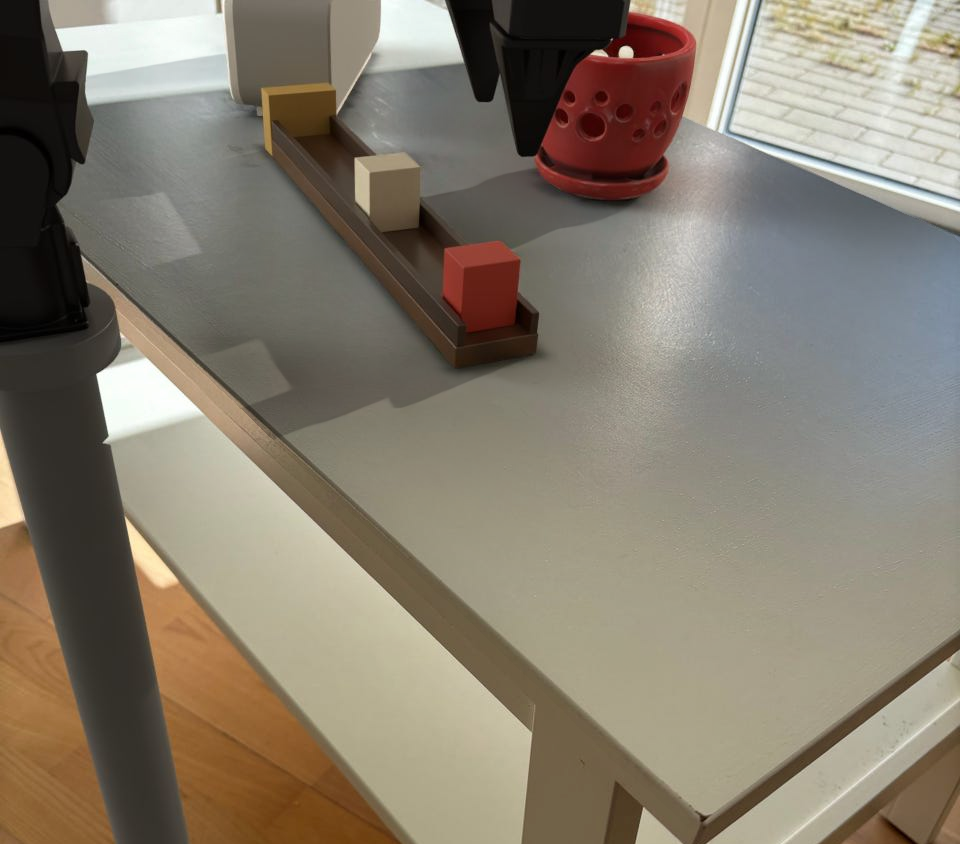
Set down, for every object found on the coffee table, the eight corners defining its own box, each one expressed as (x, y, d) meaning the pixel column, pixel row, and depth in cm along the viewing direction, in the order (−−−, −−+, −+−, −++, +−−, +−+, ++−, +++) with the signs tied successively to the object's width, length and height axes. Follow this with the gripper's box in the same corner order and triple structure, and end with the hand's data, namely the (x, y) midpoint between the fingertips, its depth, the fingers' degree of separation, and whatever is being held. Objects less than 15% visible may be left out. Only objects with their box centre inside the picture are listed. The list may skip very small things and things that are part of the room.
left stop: (272, 156, 94) (268, 95, 91) (265, 148, 95) (260, 87, 92) (337, 150, 96) (336, 89, 93) (330, 142, 98) (328, 82, 94)
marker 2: (460, 334, 70) (463, 267, 67) (441, 313, 72) (444, 247, 69) (515, 325, 72) (521, 259, 69) (495, 304, 74) (500, 239, 71)
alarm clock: (296, 39, 119) (291, -89, 111) (381, 48, 119) (381, -80, 111) (231, 123, 99) (218, -25, 91) (332, 134, 99) (328, -14, 91)
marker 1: (369, 234, 81) (369, 172, 77) (355, 218, 82) (354, 157, 79) (419, 227, 82) (420, 166, 79) (403, 212, 84) (404, 152, 81)
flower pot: (538, 145, 100) (552, -1, 92) (679, 168, 99) (707, 20, 90) (505, 197, 91) (517, 39, 83) (660, 223, 89) (688, 64, 81)
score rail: (454, 369, 70) (456, 326, 68) (272, 156, 94) (269, 120, 92) (536, 354, 72) (541, 312, 70) (337, 150, 96) (336, 114, 94)
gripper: (760, -158, 50) (688, 185, 61) (618, -214, 63) (579, 77, 74) (530, -172, 47) (498, 189, 58) (431, -228, 60) (419, 77, 71)
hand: (504, 127), depth 65 cm, fingers open, 9 cm apart
